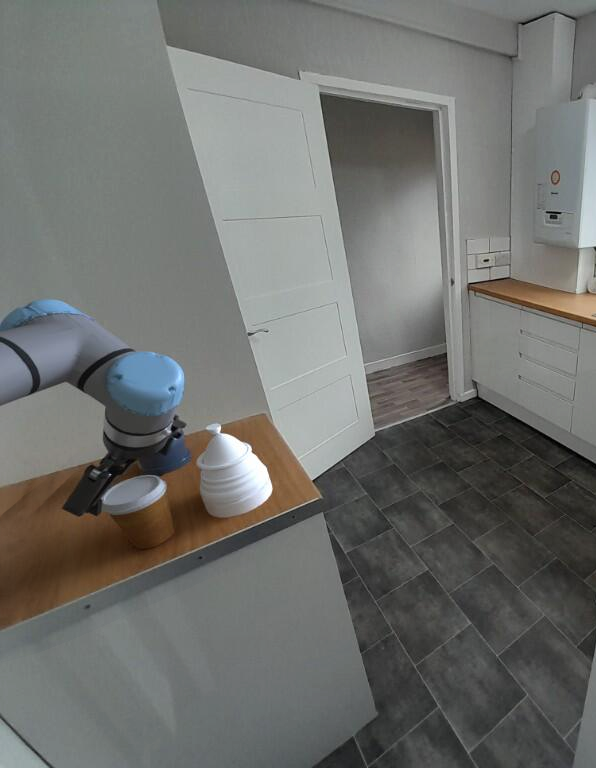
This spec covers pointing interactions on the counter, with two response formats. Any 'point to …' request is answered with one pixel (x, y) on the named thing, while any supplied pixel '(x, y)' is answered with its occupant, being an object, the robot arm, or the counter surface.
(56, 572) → the counter surface
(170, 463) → the cup stack
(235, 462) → the honey pot
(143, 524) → the disposable coffee cup
